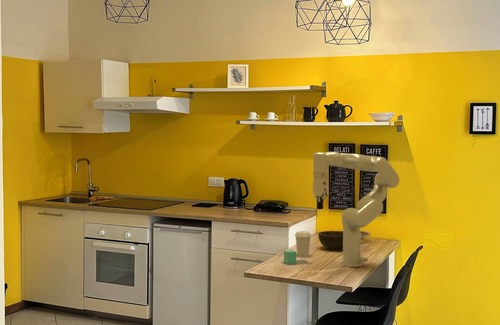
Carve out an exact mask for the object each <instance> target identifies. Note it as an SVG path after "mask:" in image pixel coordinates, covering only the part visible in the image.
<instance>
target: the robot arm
mask: <svg viewBox="0 0 500 325" xmlns="http://www.w3.org/2000/svg"><path fill="white" fill-rule="evenodd" d="M312 157H313V158H312V159H313V160H312V161H313V162H312V163H313V164H312V165H313V166H312V167H313V168H312V170H313V171H312V176H313V177H312V178H313V181H312V194H313V197H314V198H315V201H316V209H317V210H324V201H325V200H326V199H327V198H326V197H328V196H329V181H328V166H329V167H330V166H331V167H339V168H345V169H350V170H357V171H364V172H375V173H376V174H375V177H374V181H373V182H374V185H373V188H372V190H371V191H369V192H368V193H367V194H365V195H364V196H363V197H362V198H361V199H359V200H358V201H357V202H358V203H357V205H356V208H354V207H348V208H346V209H344V211H343V212H342V214H341V223H342V224H341V225H342V231H343V249H342V261H340V264H341V265H345V266H349V267H352V268H360V267H363V266H364V263H363V262H368V261H369V258H368V257H363V256H361V236H362V235H361V228H362V229H363V228H365V227H367V226H368V225H369V224H371V223H372V222H373V221H374V220H375V219H377V218H378V216H380V215H381V213H382V212H383V210H384V209H383V208H384V205H383V202H384V201H385V199H386V198H387V195H388V193H387V192H388V189H391V188H392V189H393V188H396V187H398V185H399V184H400V177H399V175H398V173H397V171H396V170H395V169H394V167H393V166H392V165H391V163H390V162H389V161H388V160H387V159H386V158H385V157H383V156H372V155H365V154H359V153H339V152H338V151H324V152H314V153H313V156H312Z"/></svg>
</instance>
